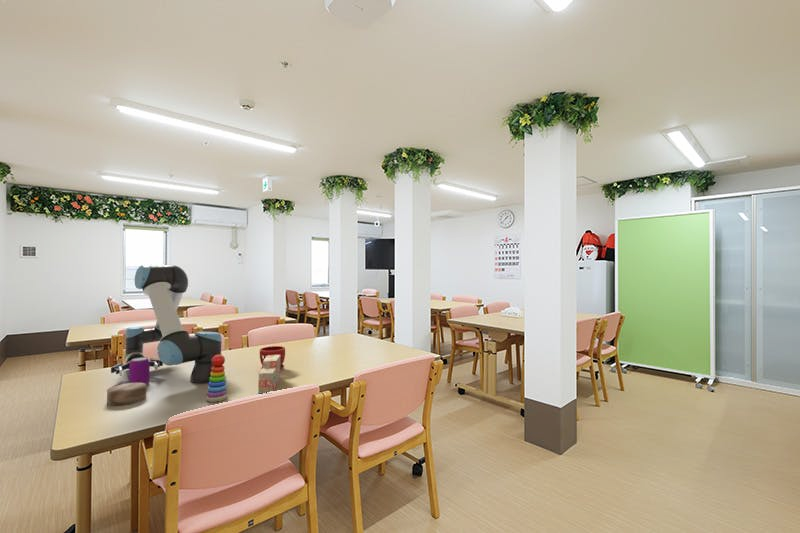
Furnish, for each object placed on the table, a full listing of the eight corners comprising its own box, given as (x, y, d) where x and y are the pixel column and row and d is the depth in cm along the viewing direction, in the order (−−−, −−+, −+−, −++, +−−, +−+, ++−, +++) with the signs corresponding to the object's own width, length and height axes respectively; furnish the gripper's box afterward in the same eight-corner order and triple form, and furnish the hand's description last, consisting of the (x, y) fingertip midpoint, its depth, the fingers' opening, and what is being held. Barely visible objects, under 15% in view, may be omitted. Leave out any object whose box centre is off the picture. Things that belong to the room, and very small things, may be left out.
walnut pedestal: (153, 394, 155) (153, 383, 155) (128, 406, 142) (128, 393, 142) (125, 393, 156) (125, 381, 156) (98, 404, 143) (98, 392, 143)
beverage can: (134, 382, 170) (134, 357, 170) (152, 381, 172) (152, 356, 172) (125, 387, 163) (126, 361, 163) (144, 386, 164) (144, 360, 164)
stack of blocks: (272, 393, 158) (273, 366, 158) (257, 394, 157) (258, 366, 157) (280, 378, 180) (280, 354, 179) (267, 379, 178) (267, 354, 178)
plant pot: (289, 367, 199) (289, 345, 198) (277, 374, 186) (277, 351, 186) (267, 365, 201) (268, 344, 201) (254, 372, 188) (254, 350, 188)
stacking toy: (218, 403, 146) (219, 357, 146) (201, 401, 148) (202, 356, 148) (231, 396, 154) (231, 353, 154) (215, 395, 155) (215, 352, 155)
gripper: (164, 363, 191) (170, 373, 174) (103, 372, 174) (104, 383, 158) (164, 349, 191) (170, 358, 174) (104, 357, 174) (104, 366, 158)
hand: (139, 370), depth 166 cm, fingers open, 13 cm apart
